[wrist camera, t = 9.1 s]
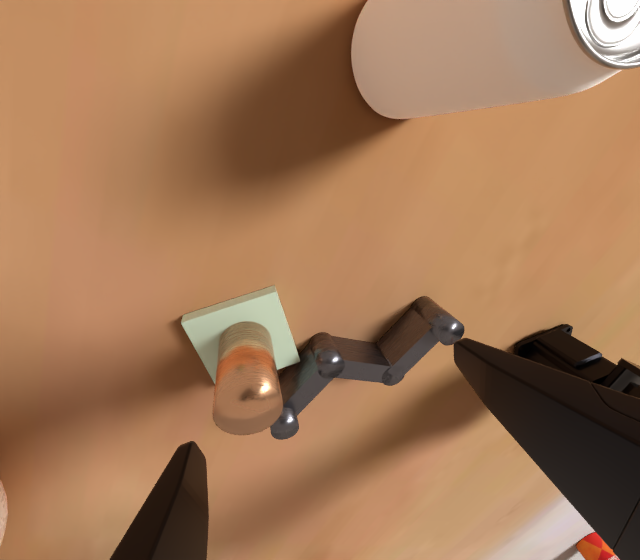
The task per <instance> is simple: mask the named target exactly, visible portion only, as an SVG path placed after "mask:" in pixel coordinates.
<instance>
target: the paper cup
mask: <svg viewBox="0 0 640 560" xmlns="http://www.w3.org/2000/svg"><path fill="white" fill-rule="evenodd" d="M576 547H577V549H578V550H579V552H580V553H581V554H582V556H583V557H584V558H585V560H620V559H619V558H618V557H617V556H616V555H615V554H614V553H613V550H612V549H610V548H609V547H608V545H607V544H606V543H605V542H604V541H603V540H602V538H601V537H600V536H599V535H598V534H597V533H596V532H594V533H591V534H589V535H587V536H585V537H584V538H583V539H581V540H580V541H579V542H578V543H577V545H576Z"/></svg>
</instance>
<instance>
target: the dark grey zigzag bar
mask: <svg viewBox="0 0 640 560" xmlns="http://www.w3.org/2000/svg"><path fill="white" fill-rule="evenodd" d="M463 334H464V326H463V324H462V323H460V322H459V321H458V320H457V319H455V318H454V317H453V316H452V315H450V314H449V313H448V312H447V311H445V310H444V309H443V308H442V307H440V306H439V305H438V304H437V303H435V302H434V301H433V300H432V299H430V298H429V297H420V298H418V299H417V300H415V302H414V303H413V304H412V307H411V308H410V309H409V310H408V311H407V312H406V313H405V314H404V315H403V316H402V317H401V318H400V319H399V320H398V321H397V322H396V323H395V324H394V325H393V327H392V328H391V329H390V330H389V331H388V332H387V333H386V334H385V335H384V336H383V337H382V338H381V339H380V340H379V341H378V342H377V343H370V342H364V341H358V340H353V339H347V338H341V337H335V336H331V335H330V334H328V333H318V334H316V335H314V336H313V337H312V338H311V340H310V342H309V344H308V345H307V346H306V348H305V349H304V350H303V351H302V352H301V353H300V354H299V358H300V362H297V363H295V364H292V365H289V366H288V367H287V368H286V369H285V370H284V371H283V372H282V373H281V374H280V375H279V376H278V379H279V384H280V390H281V395H282V401H283V409H282V412H281V415H280V416H279V418H278V419H277V420H276V422H275V423H274V424H272V425H271V426H270V428H271V434H272V436H273V437H274V438H276V439H288V438H290V437H292V436H294V435H295V434H296V433H297V431H298V429H299V424H298V420H297V415H298V414H299V413H300V412H301V411H302V410H303V409H304V408H305V407H306V406H307V405H308V404H309V403H310V402H311V401H312V400H313V399H314V398H315V397H316V396H317V395H318V394H319V393H320V392H321V390H322V389H323V388H324V387H325V386H326V385H327V384H328V383H329V382H330V381H331V380H332V379H333V378H344V379H353V380H362V381H371V382H380V383H384V384H385V385H388V386H391V385H395V384H397V383H399V382H400V381H401V380H402V379H403V377H404V375H405V374H406V373H407V372H408V371H409V370H410V369H411V368H412V367H413V366H414V365H415V364H416V363H417V362H418V361H419V360H420V359H421V358H422V357H423V356H424V355H425V354H426V353H427V352H428V351H429V350H430V349H431V348H432V347H434V346H435V345H436V344H437V343H438V342H439V341H440V342H441V343H442V344H443V345H452V344H454V342H455V341H457V340H460V339H461V337H462V336H463Z"/></svg>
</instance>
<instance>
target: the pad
mask: <svg viewBox="0 0 640 560" xmlns="http://www.w3.org/2000/svg"><path fill="white" fill-rule="evenodd" d="M243 321H252V322H256V323H259V324H261V325H263V326H264V327H265V328H266V329H267V330H268V331H269V333H270V335H271V339H272V345H273V351H274V356H275V362H276V367H277V370H278V369H281V368H284V367H286V366H289V365H292V364H295V363H297V362H300V358H299V355H298V352H297V349H296V346H295V343H294V340H293V337H292V334H291V331H290V328H289V326H288V323H287V320H286V317H285V314H284V311H283V308H282V305H281V302H280V299H279V297H278V294H277V291H276V288H275V285H274V286H271V287H267V288H264V289H261V290H258V291H255V292H252V293H249V294H246V295H243V296H240V297H237V298H234V299H231V300H227V301H224V302H221V303H218V304H215V305H212V306H209V307H206V308H203V309H200V310H197V311H194V312H191V313H187V314H184V315H183V317H182V320H181V324H182V326H183V328H184V330H185V331H186V333H187V335H188V337H189V339H190V340H191V342H192V344H193V346H194V348H195V349H196V351H197V353H198V355H199V357H200V358H201V360H202V362H203V364H204V366H205V367H206V369H207V371H208V373H209V375H210V376H211V378H212V380H213V382H214V384H215V382H216V370H217V359H218V348H219V340H220V337H221V335H222V333H223V332H224V331H225V330H226V329H227V328H228V327H229V326H231V325H233V324H235V323H238V322H243Z"/></svg>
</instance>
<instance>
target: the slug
mask: <svg viewBox="0 0 640 560" xmlns="http://www.w3.org/2000/svg"><path fill="white" fill-rule="evenodd" d="M282 409H283V401H282V395H281V390H280V384H279V379H278V373H277V367H276V362H275V356H274V351H273V345H272V339H271V335H270V333H269V331H268V330H267V329H266V328H265V327H264V326H263V325H261V324H259V323H256V322H252V321H243V322H238V323H235V324H233V325H231V326H229V327H228V328H227V329H226V330H225V331H224V332H223V333H222V335H221V337H220V340H219V348H218V359H217V370H216V382H215V393H214V404H213V419H214V422H215V424H216V425H217V426H218V427H219V428H220V429H221V430H223V431H225V432H227V433H230V434H234V435H250V434H254V433H258V432H260V431H263V430H265V429H267V428H268V427H270V426H271V425H272V424H274V423H275V422H276V420H277V419H278V418H279V416H280V415H281V412H282Z"/></svg>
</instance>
